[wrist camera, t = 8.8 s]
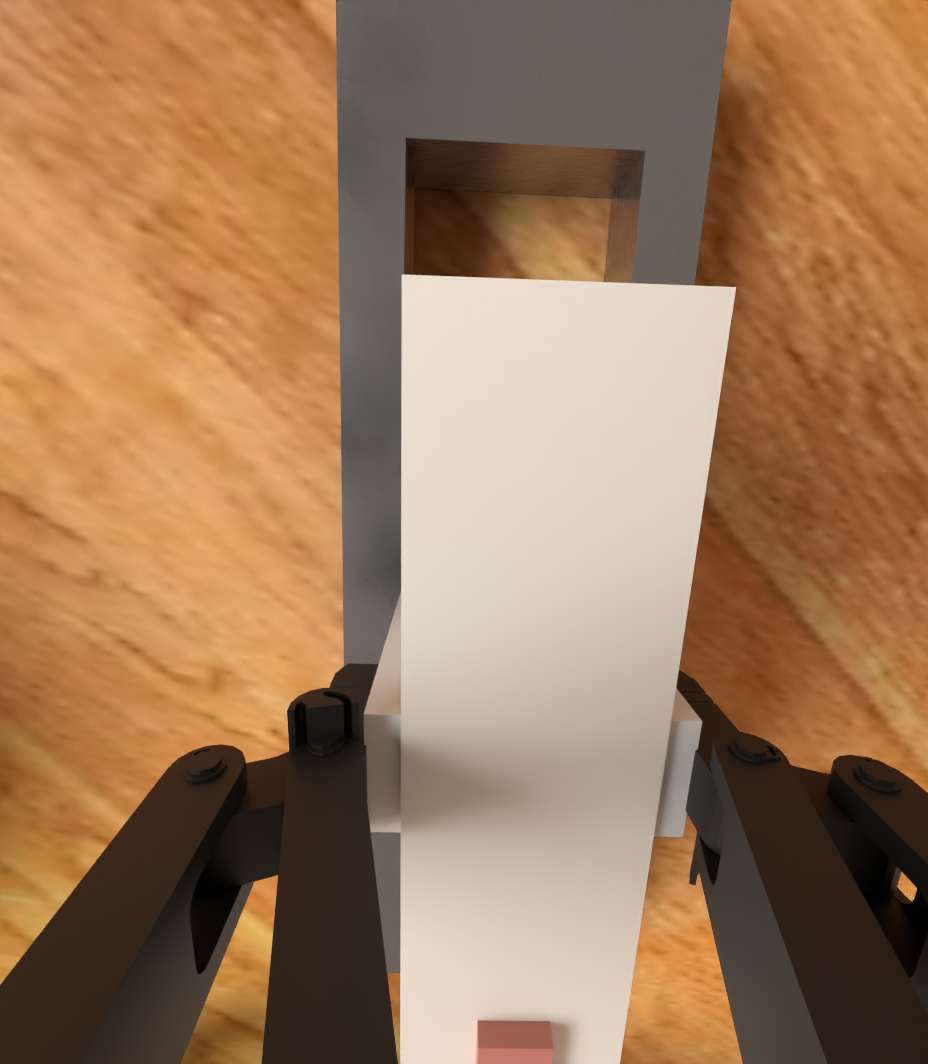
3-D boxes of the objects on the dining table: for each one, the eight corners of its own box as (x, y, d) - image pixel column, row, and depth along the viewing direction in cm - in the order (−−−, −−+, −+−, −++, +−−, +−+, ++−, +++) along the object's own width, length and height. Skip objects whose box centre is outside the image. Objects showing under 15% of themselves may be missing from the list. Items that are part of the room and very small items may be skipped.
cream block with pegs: (432, 346, 17) (398, 266, 7) (583, 351, 17) (755, 278, 7) (425, 803, 21) (397, 1143, 11) (545, 805, 21) (618, 1144, 11)
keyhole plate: (358, 45, 15) (335, -42, 13) (682, 63, 16) (734, -18, 13) (362, 899, 22) (347, 972, 20) (586, 904, 23) (605, 976, 20)
